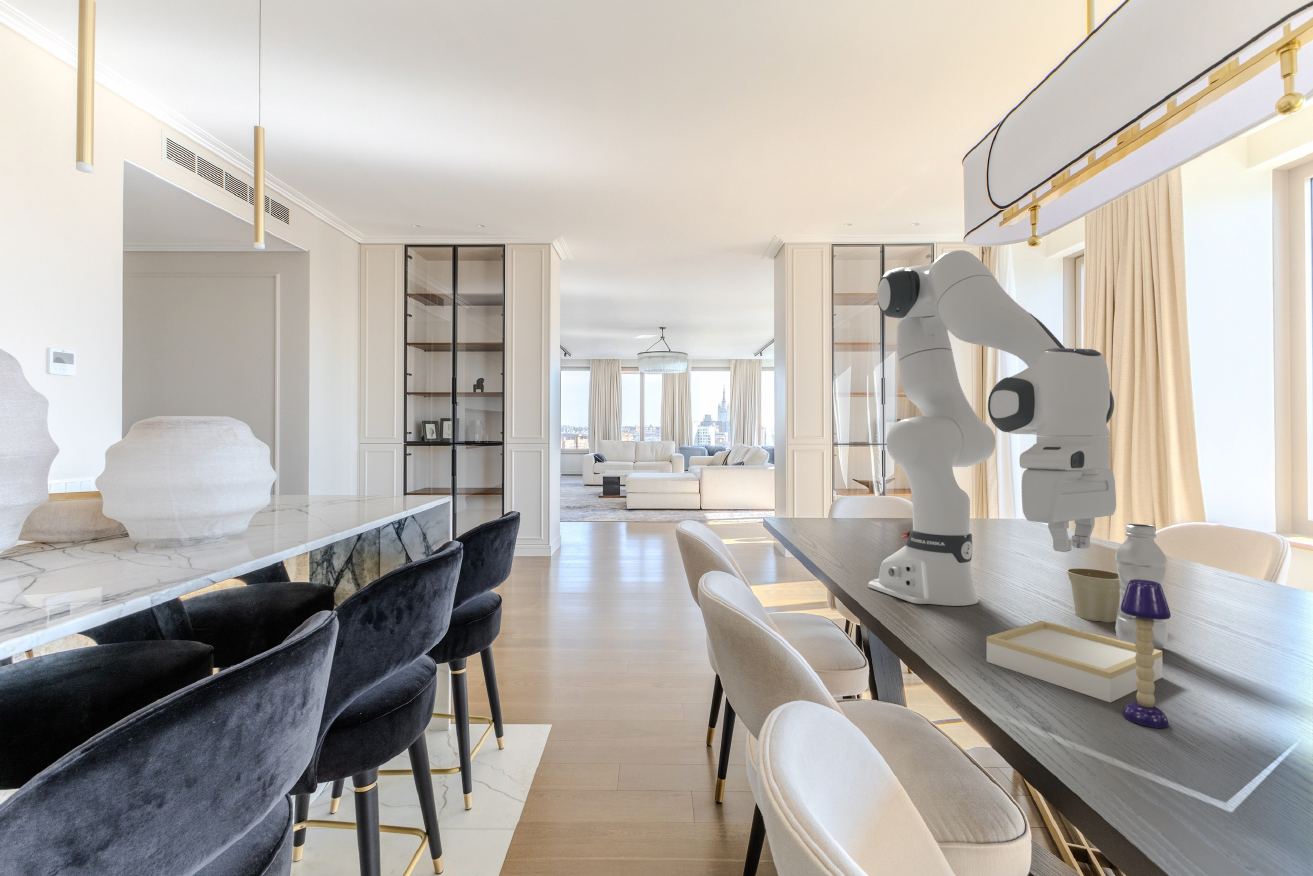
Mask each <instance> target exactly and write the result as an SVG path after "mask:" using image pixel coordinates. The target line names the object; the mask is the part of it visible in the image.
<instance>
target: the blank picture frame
mask: <svg viewBox="0 0 1313 876" xmlns="http://www.w3.org/2000/svg"><path fill="white" fill-rule="evenodd" d="M1136 653H1137V650H1136V647H1135V644H1133V643H1129V642H1125V641H1121V640H1119V639H1118V638H1112V637H1109V636H1104V635H1100V634H1096V633H1093V632H1089V631H1085V630H1081V629H1078V628H1072V627H1069V626H1065V625H1060V624H1056V623H1052V622H1049V621H1044V620H1039V621H1035V622H1032V623H1029V624H1025V625H1021V626H1018V627H1015V628H1011V629H1008V630H1005V631H1001V632H998V633H994V634H991V635H987V636H986V663H990V664H993V665H996V666H999V667H1002V668H1005V669H1008V670H1011V671H1014V672H1016V673H1020V674H1023V675H1025V676H1029V677H1032V678H1035V679H1038V680H1042V681H1044V682H1046V683H1050V684H1053V685H1057V686H1060V687H1063V688H1064V689H1069V690H1072V691H1074V692H1077V693H1080V694H1082V695H1083V694H1084V695H1085V696H1086V695H1087V696H1090V697H1091V698H1096V699H1099V700H1101V701H1104V702H1107V703H1113V702H1115V701H1117V700H1119V699H1121V698H1123V697H1125V696H1128V695H1129V694H1132V693H1133V692H1135V691H1138V689H1137V686H1136V681H1137V678H1138V677H1137V675H1136V667H1137V663H1136V660H1135V656H1136ZM1152 656H1153V658H1154V665H1153V667H1152V668H1153V670H1154V673H1155V676H1154V679H1153V682H1154V683H1155V682H1156V681H1158V680H1160V679H1162V678H1163V650H1162V649H1159V650H1157V649H1154V652H1153V653H1152Z"/></svg>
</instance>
